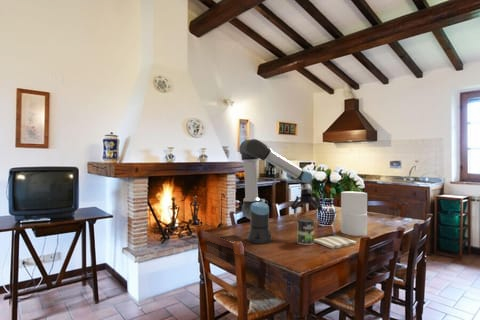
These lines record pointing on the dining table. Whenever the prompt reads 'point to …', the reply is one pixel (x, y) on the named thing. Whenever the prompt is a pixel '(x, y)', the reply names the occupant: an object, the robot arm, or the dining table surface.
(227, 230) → the dining table surface
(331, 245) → the birch board
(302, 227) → the coffee can
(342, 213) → the cylinder
